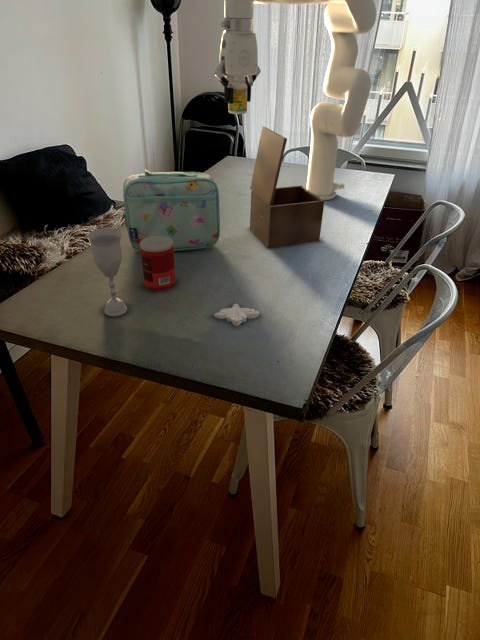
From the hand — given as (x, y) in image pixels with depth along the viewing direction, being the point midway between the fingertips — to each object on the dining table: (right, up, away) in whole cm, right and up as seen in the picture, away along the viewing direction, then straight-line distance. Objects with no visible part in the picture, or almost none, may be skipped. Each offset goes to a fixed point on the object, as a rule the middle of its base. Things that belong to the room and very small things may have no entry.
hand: (237, 101), depth 132 cm
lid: (+9, -19, -4) cm, 22 cm away
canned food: (-19, -53, -16) cm, 59 cm away
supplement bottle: (0, -3, +2) cm, 3 cm away
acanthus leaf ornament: (0, -61, -28) cm, 67 cm away
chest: (+14, -36, +10) cm, 40 cm away
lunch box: (-19, -41, +2) cm, 45 cm away
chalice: (-27, -60, -27) cm, 71 cm away
